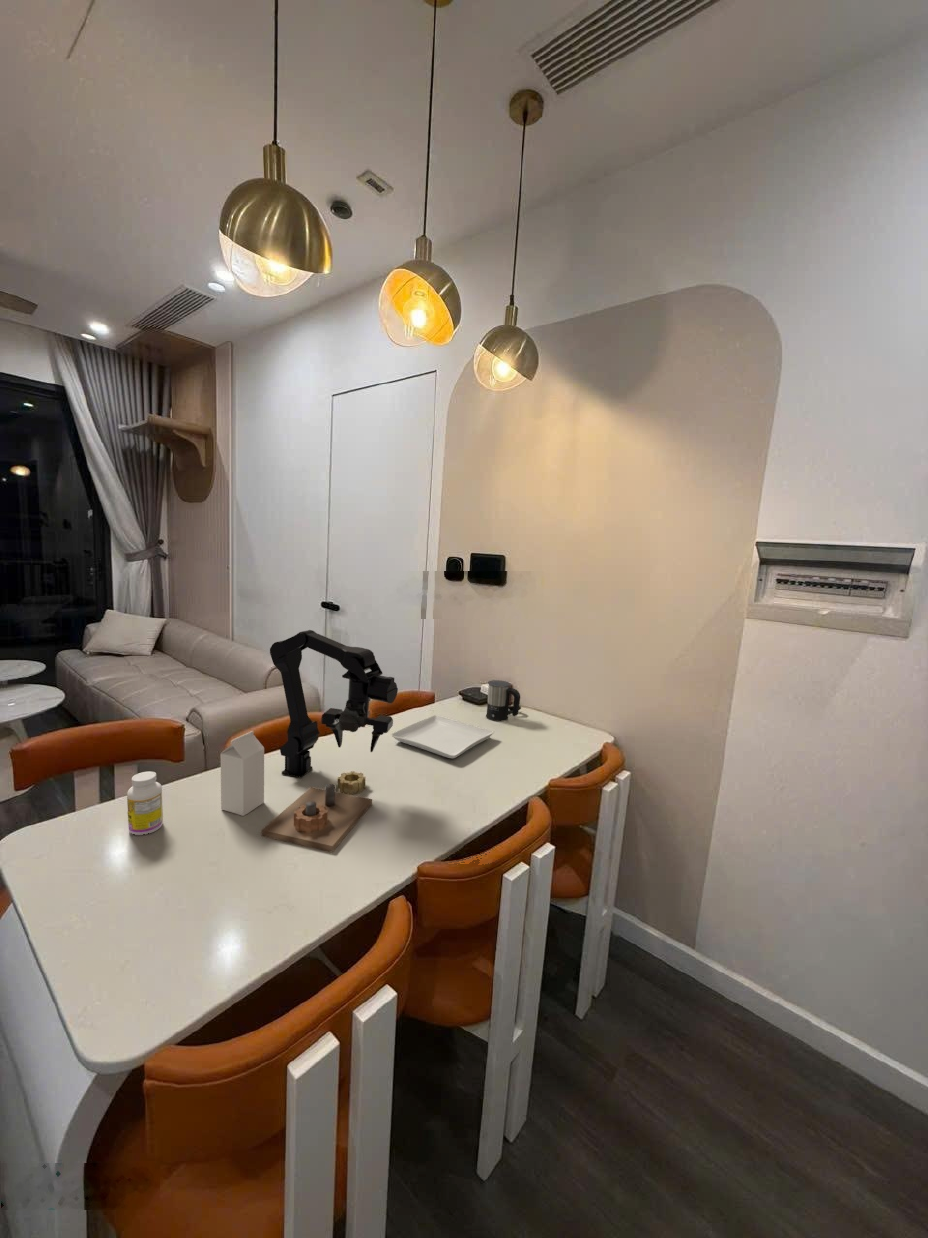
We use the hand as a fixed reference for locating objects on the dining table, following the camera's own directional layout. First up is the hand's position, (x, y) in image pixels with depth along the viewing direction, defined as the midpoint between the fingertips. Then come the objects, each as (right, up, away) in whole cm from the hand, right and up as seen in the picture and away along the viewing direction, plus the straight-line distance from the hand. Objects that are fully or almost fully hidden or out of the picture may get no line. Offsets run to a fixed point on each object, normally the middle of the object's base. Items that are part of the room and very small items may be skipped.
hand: (355, 749), depth 133 cm
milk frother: (+46, -5, +68) cm, 82 cm away
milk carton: (-26, -12, -11) cm, 31 cm away
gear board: (-5, -13, -15) cm, 20 cm away
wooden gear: (-2, -11, +1) cm, 11 cm away
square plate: (+23, -8, +38) cm, 45 cm away
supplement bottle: (-43, -12, -22) cm, 50 cm away
